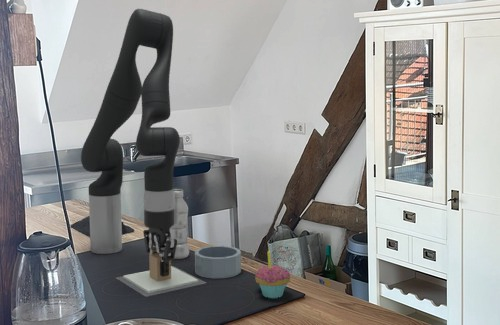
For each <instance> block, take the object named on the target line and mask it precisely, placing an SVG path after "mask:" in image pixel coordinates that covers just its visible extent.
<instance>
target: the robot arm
mask: <svg viewBox="0 0 500 325" xmlns="http://www.w3.org/2000/svg"><path fill="white" fill-rule="evenodd" d="M172 20H173V19H171V17H170V16H169V15H166V14H164V13H161V12H156V11H151V10H148V9H144V8H135V10H133V11H132V13H131V15H130V17H129V19H128V21H127V26H126V28H125V33H124V37H123V40H122V44H121V48H120V51H119V54H118V58H117V61H116V64H115V67H114V69H113V72H112V73H111V74H112V75H111V77H110V78H109V82H108V85H107V87H106V90H105V93H104V96H103V100H102V102H101V106H100V108H99V111H98V113H97V116H96V118H95V120H94V123H93V125H92V127H91V129H90V131H89V133H88V135H87V137H86V139H85V141H84V143H83V145H82V148H81V149H82V150H81V151H80V154H81V155H80V162H81V165H82V166H81V167H82V168H83V169H84V170H85V171H86V172H90V173H99V172H100V175H99V176H98V178H97V179H96V180H94V181H93V182H91V183H90V184H89V186H88V209H89V210H88V211H89V213H88V215H89V216H90V237H89V242H90V244H89V246H90V251H91V253H92V254H98V255H106V254H107V255H108V254H110V255H111V254H115V253H119V252H121V251H122V250H123V238H122V237H123V235H122V223H121V222H122V193H121V189H122V186H123V179H124V177H123V176H124V175H123V173H124V172H123V171H124V153H123V149H122V146H121V143H120V142H119V141H118V140H117V139H114V138H111V137H113V135H114V133H116V131H118V130H119V129H120V128H121V127H122V126H123V125H124V124H125V123H126V122H127V121H128V120H129V119H130V118H131V117H132V115H133V114H134V113H135V111H136V109H137V107H138V105H139V101H140V98H141V120H140V124H139V128H138V132H137V135H136V141H135V147H136V149H137V150H136V151H137V152H138V153H139V154H140V155H141V156H143V157H163V156H164V158H163V160H162V161H161V162H159V163H156V164H152V165H148V166H146V167H145V168H144V173H143V174H144V175H143V176H144V179H143V180H144V195H143V222H144V223H143V224H144V226H145V227H146V228H147V229H144V230H143V238H144V243H145V244H144V245H145V250H146V253H147V254H154V253H159V257H160V275H161V276H162V277H164V276H168V275H169V261H171V262H172V261H174V260H175V259H174V257H175V251H176V245H177V240H176V239H172V238H171V234H170V227H171V226H173V225H174V223H175V219H174V193H173V189H174V166H175V161H176V157H177V154H178V152H179V151H178V150H179V146H180V143H181V142H180V141H181V138H180V133H179V132H178V130H177V129H176V128H174V127H171V126H170V127H169V126H164V127H161V126H159V127H158V126H157V127H155V126H154V127H152V126H153V125H155V124H158V123H162V122H165V121H167V120H168V119H170V117H171V100H170V99H171V98H170V97H171V96H170V74H171V72H170V71H171V65H172V64H171V62H172V52H173V42H174V26H173V24H174V23H173V21H172ZM140 46H141V47H145V48H151V49H155V50H156V60H155V63H154V64H153V66H152V68H151V70H150V71H149V72H148V74H147V75H146V77H145V78H144V81H143V82H142V80H141V78H140V73H139V71H138V67H137V62H136V57H137V51H138V49H139V47H140ZM163 252H164V257H163ZM170 253H171V255H170Z"/></svg>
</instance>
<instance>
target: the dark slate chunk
mask: <svg viewBox="0 0 500 325" xmlns="http://www.w3.org/2000/svg"><path fill="white" fill-rule="evenodd" d="M121 223H122V236H123V235H127V234H130V233H133V232H135V229H134V228H132V227H131V226H129V225H128V224H127V225H126V224H124V221H121ZM70 226H71V227H70V228H71V229H72V228H73V230H75V231H76V232H78V233H81V234H82V235H84V236H86V237H88V238H90V215H89V216H88V215H87V216H86V217H83V218H82V219H81V220H78V221H75V222H73V223H72V224H71V225H70Z"/></svg>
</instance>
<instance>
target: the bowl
mask: <svg viewBox="0 0 500 325" xmlns="http://www.w3.org/2000/svg"><path fill="white" fill-rule="evenodd" d="M241 264H242V252H241V250H240V248H236V247H234V246H228V245H208V246H202V247H200V248H198V249H196V250H194V271H195V272H194V273H195V275H197V276H199V277H200V278H206V279H214V280H215V279H227V278H228V279H229V278H232V277H235V276H236V277H237V276H238V275H239V274H241V273H242V265H241Z"/></svg>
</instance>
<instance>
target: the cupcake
mask: <svg viewBox="0 0 500 325" xmlns="http://www.w3.org/2000/svg"><path fill="white" fill-rule="evenodd" d="M271 258H272V257H271V251H270V248H267V266H263V267H260V268H259V269H257V271H256V272H255V274H254V276H255V282H256V284H259V286H260V289H261V293H262V296H263V297H264V298H267V297H268V298H267V299H279V298H281V297H283V294H284V291H285V290H286V287H287V285H288V283H290V282H291V274H290V272H289V271H288V270H287V269H285V268H284V267H283V266H280V265H277V264H274V265H273V264H272V259H271ZM278 297H279V298H278Z"/></svg>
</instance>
